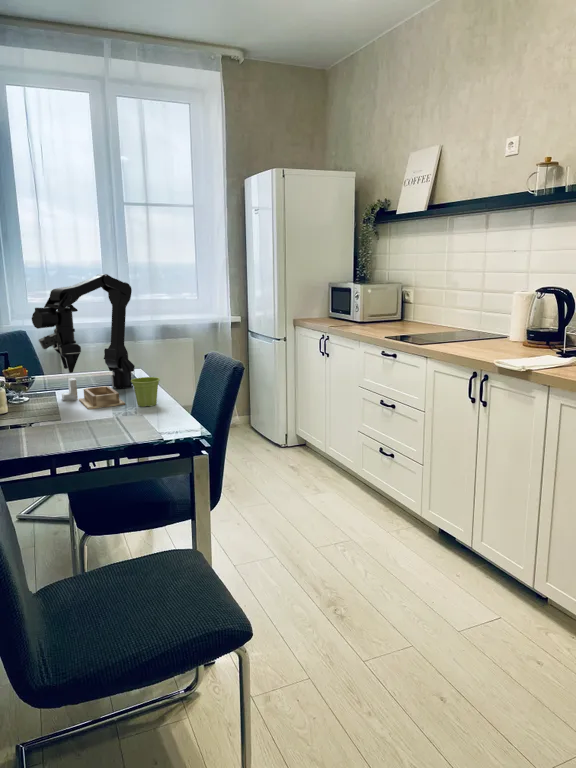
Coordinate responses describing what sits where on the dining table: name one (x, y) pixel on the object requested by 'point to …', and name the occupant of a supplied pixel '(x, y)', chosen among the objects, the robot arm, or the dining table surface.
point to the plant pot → (146, 390)
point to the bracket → (71, 390)
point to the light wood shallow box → (100, 397)
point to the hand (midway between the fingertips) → (68, 370)
